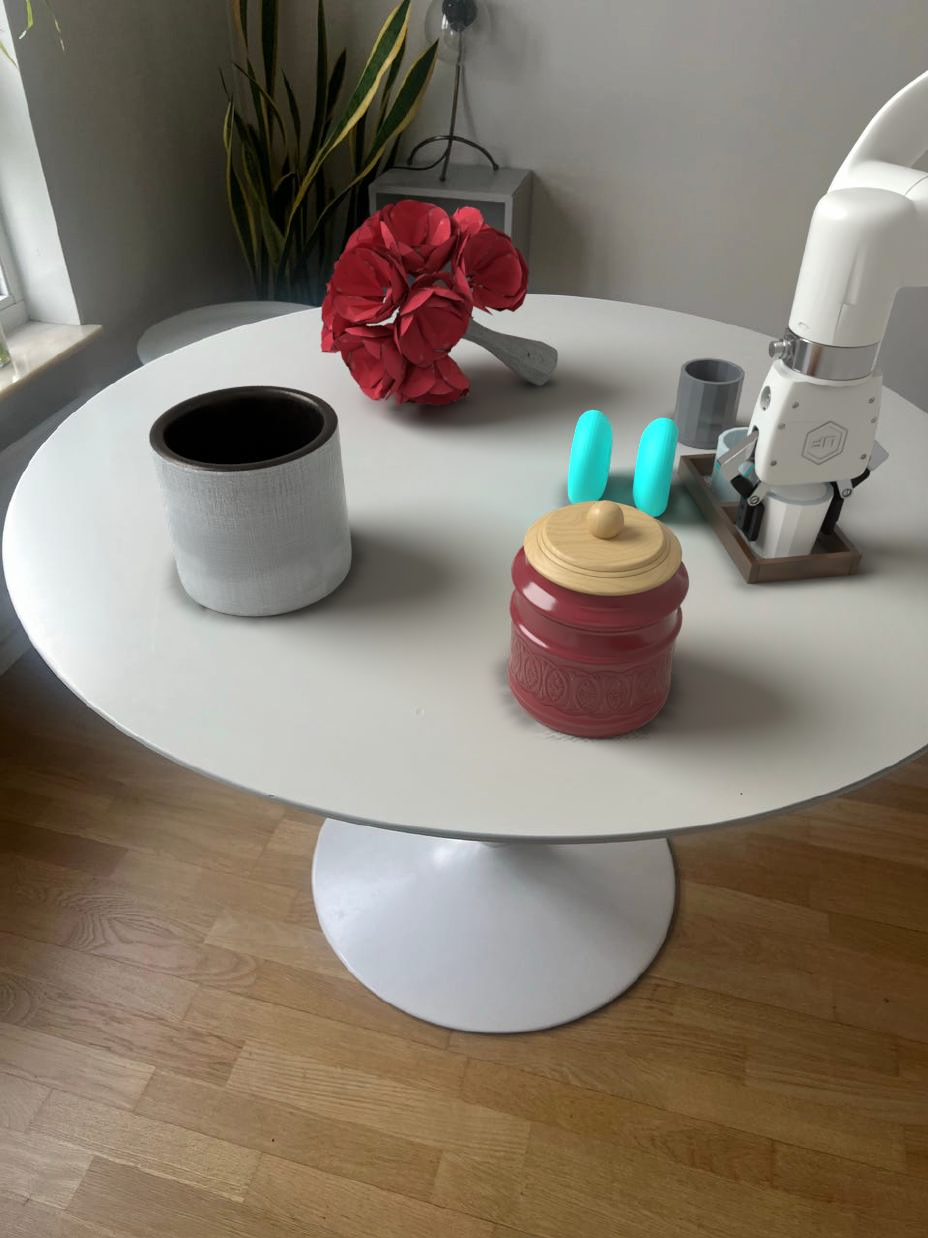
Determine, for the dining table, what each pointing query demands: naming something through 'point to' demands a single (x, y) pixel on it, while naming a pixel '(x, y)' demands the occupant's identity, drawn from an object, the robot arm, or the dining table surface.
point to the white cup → (792, 519)
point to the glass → (718, 481)
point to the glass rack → (753, 570)
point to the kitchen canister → (595, 618)
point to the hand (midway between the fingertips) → (784, 529)
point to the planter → (254, 498)
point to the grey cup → (707, 401)
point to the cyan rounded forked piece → (595, 458)
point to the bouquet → (426, 303)
